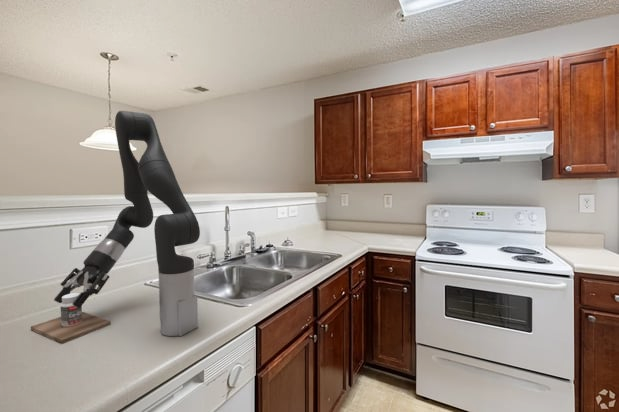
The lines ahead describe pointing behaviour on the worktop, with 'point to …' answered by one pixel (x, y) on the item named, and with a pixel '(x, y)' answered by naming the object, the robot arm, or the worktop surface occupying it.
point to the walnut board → (70, 328)
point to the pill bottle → (70, 311)
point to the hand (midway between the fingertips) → (66, 304)
